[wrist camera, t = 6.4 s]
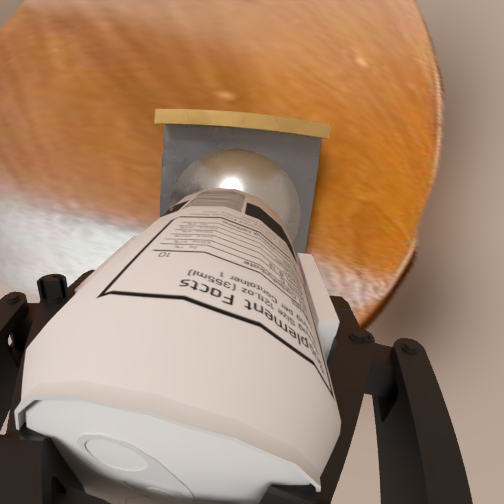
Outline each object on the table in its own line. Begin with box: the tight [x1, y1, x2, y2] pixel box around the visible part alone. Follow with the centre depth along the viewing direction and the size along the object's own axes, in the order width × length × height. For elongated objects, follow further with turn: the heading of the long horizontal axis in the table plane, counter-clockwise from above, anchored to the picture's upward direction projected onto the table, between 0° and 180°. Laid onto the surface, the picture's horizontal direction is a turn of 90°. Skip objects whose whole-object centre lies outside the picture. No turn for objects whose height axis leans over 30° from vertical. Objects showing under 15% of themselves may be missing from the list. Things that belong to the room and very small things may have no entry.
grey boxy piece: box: [154, 109, 331, 258], centre depth 29 cm, size 14×18×8 cm
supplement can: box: [14, 188, 341, 504], centre depth 12 cm, size 8×8×15 cm
